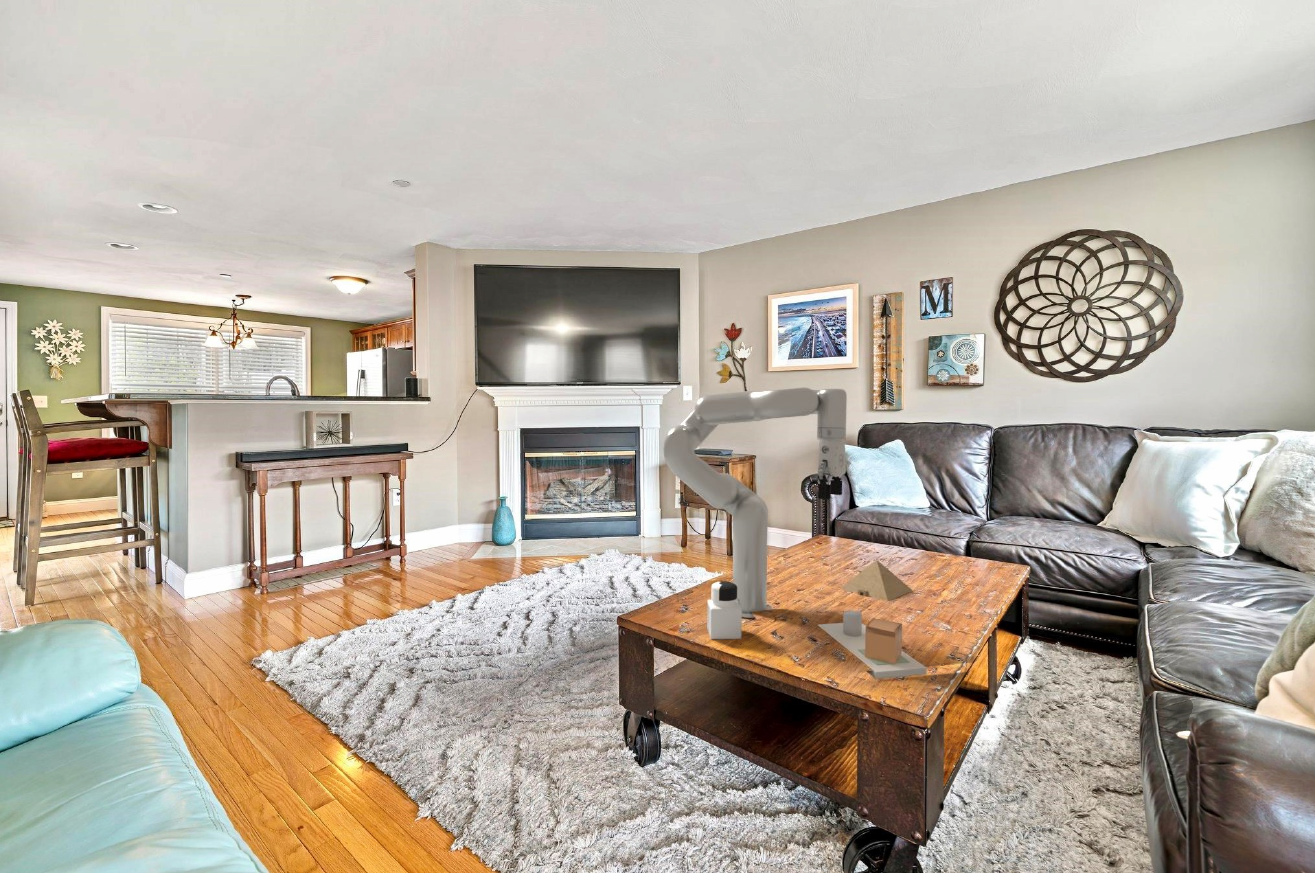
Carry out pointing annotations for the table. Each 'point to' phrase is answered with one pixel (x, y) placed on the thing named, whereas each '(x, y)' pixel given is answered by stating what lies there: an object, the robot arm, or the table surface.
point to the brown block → (883, 640)
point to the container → (724, 612)
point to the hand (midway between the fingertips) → (830, 496)
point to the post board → (854, 641)
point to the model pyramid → (877, 583)
